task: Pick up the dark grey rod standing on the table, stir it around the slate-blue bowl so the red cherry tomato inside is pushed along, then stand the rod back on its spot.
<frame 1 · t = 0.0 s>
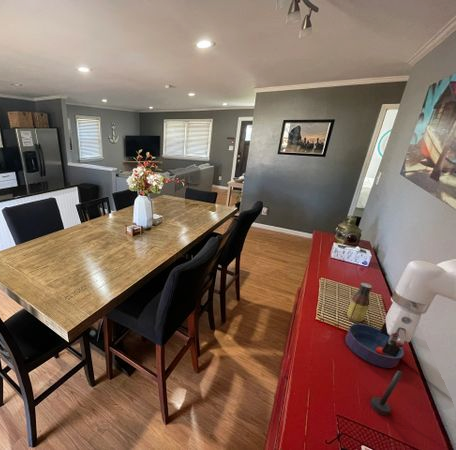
hand: (387, 343, 77), 22 cm above the sideboard, tool pointing down, fingers open, 9 cm apart
tomato: (381, 351, 97), point 2 cm above the sideboard, touching bowl
sauce bottle: (353, 319, 117), on the sideboard
dark grey rod: (379, 407, 79), on the sideboard
bowl: (369, 350, 100), on the sideboard
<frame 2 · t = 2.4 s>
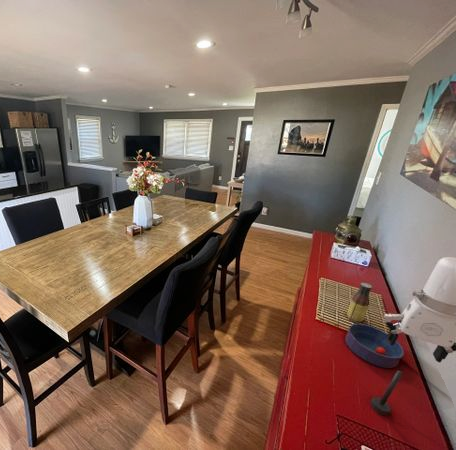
hand: (412, 349, 69), 26 cm above the sideboard, tool pointing down, fingers open, 9 cm apart
nothing on the sideboard moved.
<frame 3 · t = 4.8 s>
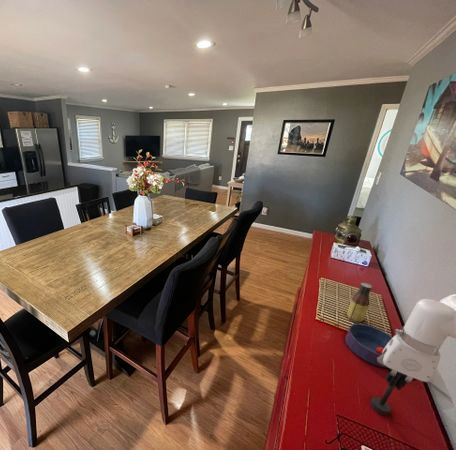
hand: (393, 383, 75), 12 cm above the sideboard, tool pointing down, fingers closed on dark grey rod
dark grey rod: (379, 407, 79), on the sideboard, touching gripper
everything else where it was.
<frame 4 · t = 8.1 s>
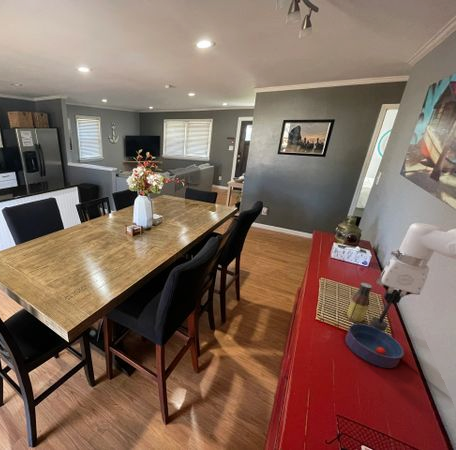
hand: (390, 301, 88), 27 cm above the sideboard, tool pointing down, fingers closed on dark grey rod
dark grey rod: (377, 326, 93), point 15 cm above the sideboard, touching gripper
everything else where it was.
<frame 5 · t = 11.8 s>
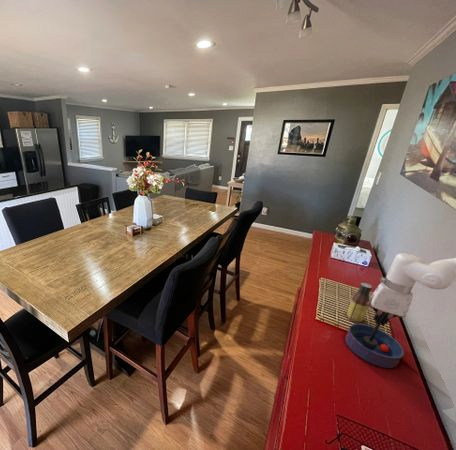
hand: (379, 322, 97), 13 cm above the sideboard, tool pointing down, fingers closed on dark grey rod
tomato: (384, 348, 98), point 2 cm above the sideboard, tilted 85°, touching bowl
dark grey rod: (368, 343, 101), point 1 cm above the sideboard, touching gripper
everything else where it was.
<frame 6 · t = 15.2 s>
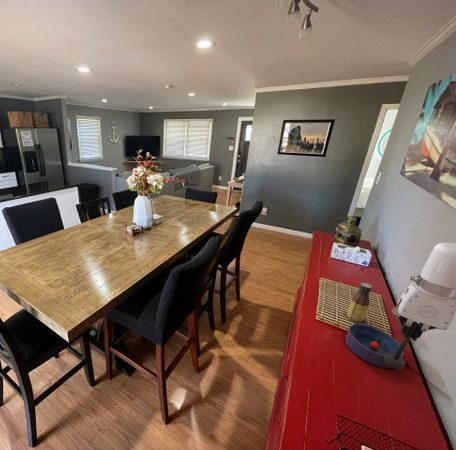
hand: (408, 335, 73), 27 cm above the sideboard, tool pointing down, fingers closed on dark grey rod
tomato: (374, 345, 100), point 2 cm above the sideboard, tilted 69°, touching bowl
dark grey rod: (393, 362, 77), point 15 cm above the sideboard, touching gripper
everything else where it was.
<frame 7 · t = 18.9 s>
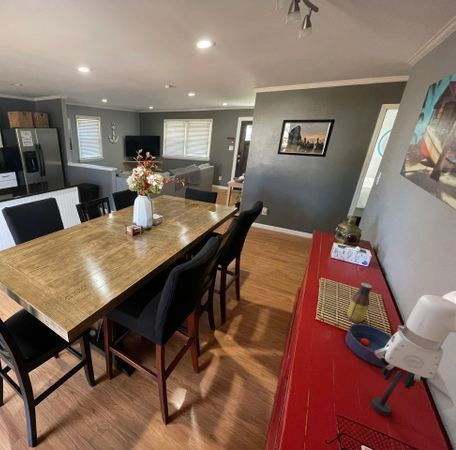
hand: (395, 380, 74), 13 cm above the sideboard, tool pointing down, fingers open, 4 cm apart
tomato: (364, 342, 101), point 2 cm above the sideboard, tilted 116°, touching bowl
dark grey rod: (379, 408, 79), on the sideboard
everything else where it was.
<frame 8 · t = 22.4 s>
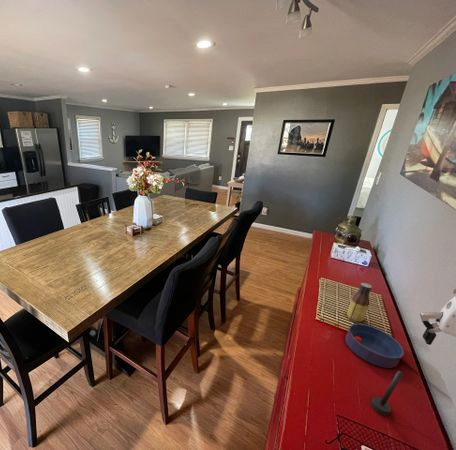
hand: (450, 349, 67), 28 cm above the sideboard, tool pointing down, fingers open, 9 cm apart
tomato: (357, 339, 102), point 2 cm above the sideboard, tilted 93°, touching bowl
everything else where it was.
at the end: tomato moved 7.8 cm from its start; tomato inside the target area in the bowl (4.8 cm from its centre), point 2.1 cm above the bowl's base; dark grey rod inside the target area (0.1 cm from its centre), on the sideboard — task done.
